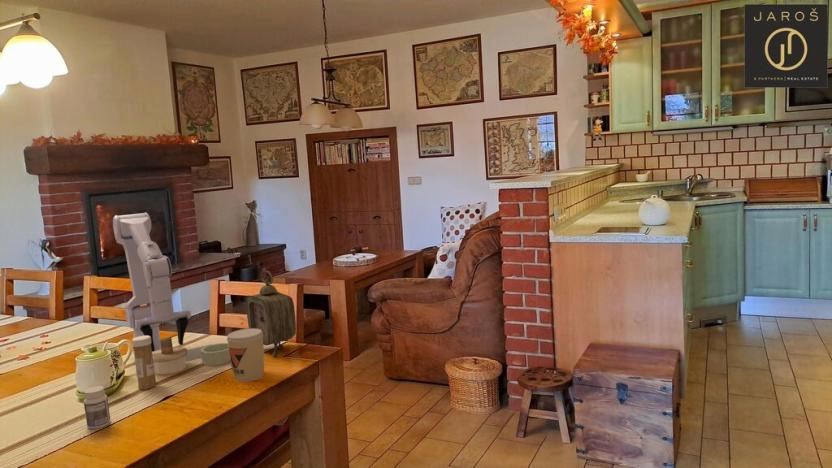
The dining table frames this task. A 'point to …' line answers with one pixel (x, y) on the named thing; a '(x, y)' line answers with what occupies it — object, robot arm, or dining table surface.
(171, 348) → the lid
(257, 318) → the tabletop clock
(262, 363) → the coffee cup
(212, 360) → the sage bowl
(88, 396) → the pill bottle
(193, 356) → the slate mat
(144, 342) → the sprinkles bottle
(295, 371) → the dining table surface
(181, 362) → the cream bowl
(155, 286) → the robot arm
